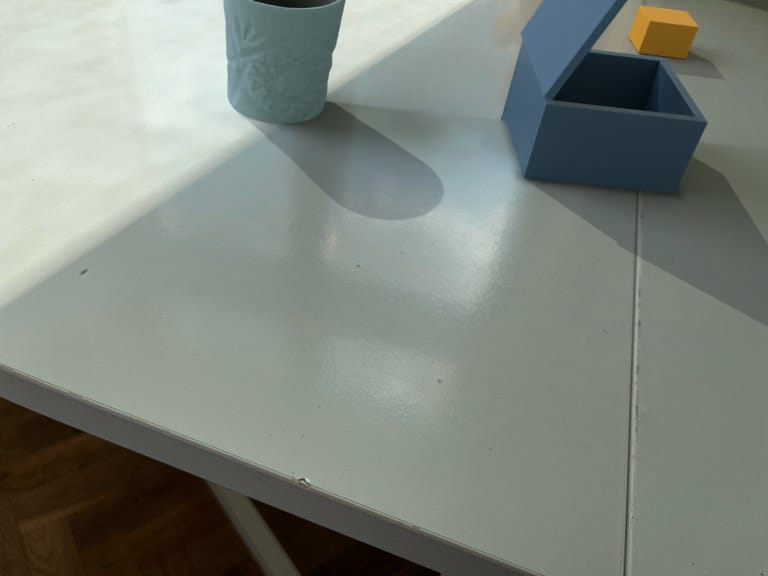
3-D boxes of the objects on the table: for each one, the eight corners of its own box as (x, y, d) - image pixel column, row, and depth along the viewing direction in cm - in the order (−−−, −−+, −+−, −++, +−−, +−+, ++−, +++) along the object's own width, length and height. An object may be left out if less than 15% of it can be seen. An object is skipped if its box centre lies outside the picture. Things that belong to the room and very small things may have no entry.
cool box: (633, 136, 78) (665, 57, 72) (669, 205, 69) (708, 122, 63) (500, 121, 76) (522, 40, 70) (519, 190, 67) (546, 104, 62)
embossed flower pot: (254, 74, 76) (258, -53, 68) (350, 104, 74) (366, -22, 66) (200, 119, 68) (197, -17, 61) (305, 154, 67) (317, 18, 59)
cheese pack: (674, 42, 97) (686, 11, 94) (685, 59, 94) (699, 27, 91) (627, 36, 96) (639, 5, 94) (637, 53, 93) (650, 20, 90)
